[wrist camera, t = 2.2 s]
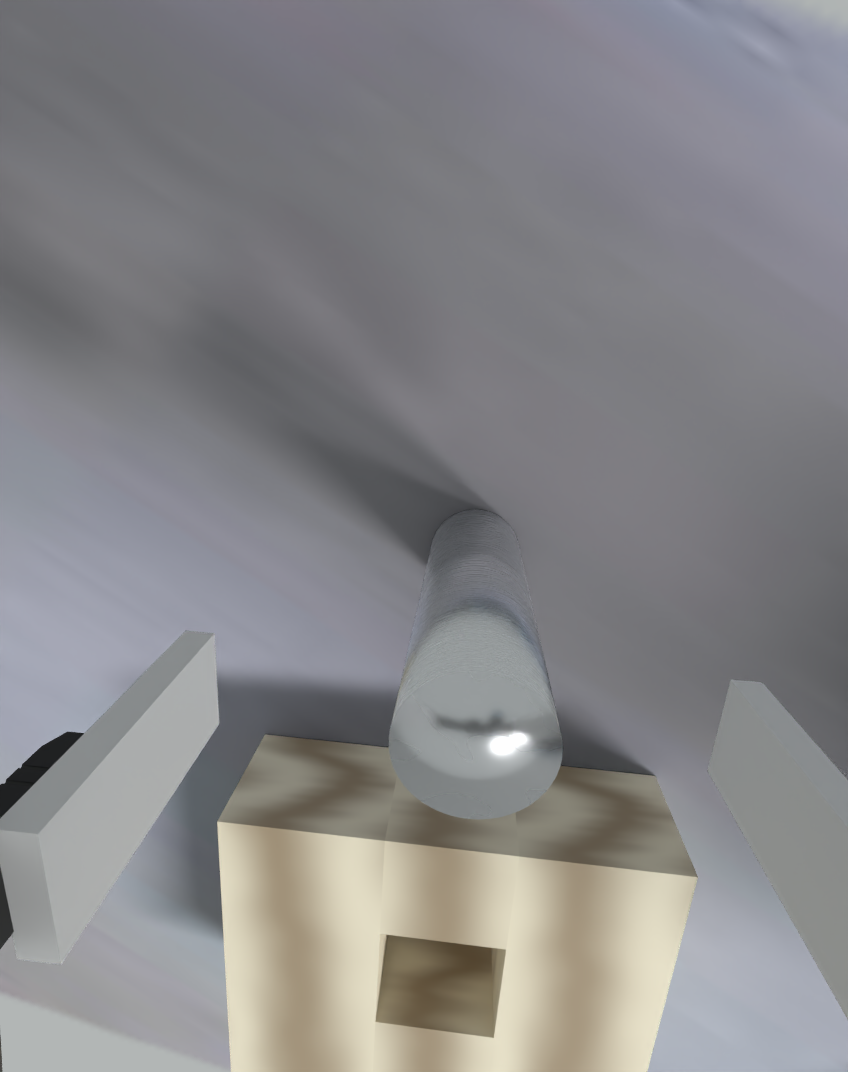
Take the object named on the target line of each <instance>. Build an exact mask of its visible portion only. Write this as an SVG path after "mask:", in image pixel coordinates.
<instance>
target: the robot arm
mask: <svg viewBox="0 0 848 1072" xmlns="http://www.w3.org/2000/svg"><path fill="white" fill-rule="evenodd" d="M218 725H219V707H218V689H217V670H216V652H215V634H214V633H204V632H193V631H185V632H184V633H183V634H182V635H181V636H180V637H179V638H178V639H177V640H176V641H175V642H174V643H173V644H172V645H171V646H170V647H169V648H168V649H167V650H166V651H165V652H164V653H163V654H162V655H161V656H160V657H159V658H158V659H157V660H156V661H155V662H154V663H153V664H152V665H151V666H150V667H149V668H148V669H147V671H146V672H145V673H144V674H143V675H142V676H141V677H140V678H139V679H138V680H137V681H136V682H135V683H134V684H133V685H132V686H131V687H130V688H129V689H128V690H127V691H126V692H125V693H124V694H123V695H122V696H121V697H120V698H119V699H118V700H117V701H116V702H115V703H114V704H113V705H112V706H111V707H110V708H109V709H108V710H107V711H106V712H105V713H104V714H103V715H102V716H101V717H100V718H99V719H98V720H97V721H96V722H95V723H94V724H93V725H92V726H91V727H90V728H89V729H88V730H87V731H86V732H85V733H76V732H66V733H64V734H63V735H61V736H59V737H57V738H56V739H54V740H52V741H50V742H48V743H47V744H45V745H43V746H41V747H40V748H39V749H38V750H37V751H36V752H35V753H34V754H33V755H32V756H31V757H30V758H29V759H28V760H27V761H25V762H24V763H23V764H22V767H21V768H18V769H17V770H16V771H15V772H14V773H13V774H12V775H11V776H10V777H8V778H7V779H6V783H5V784H1V785H0V949H1V947H2V946H3V945H4V944H5V942H6V941H7V940H8V938H9V937H10V936H11V935H12V937H13V941H14V946H15V951H16V956H17V960H25V961H34V962H42V963H51V964H59V965H62V963H63V962H64V960H65V958H66V957H67V955H68V954H69V952H70V951H71V949H72V948H73V946H74V945H75V943H76V942H77V940H78V939H79V937H80V936H81V934H82V933H83V931H84V929H85V928H86V926H87V925H88V923H89V922H90V920H91V919H92V917H93V916H94V914H95V913H96V911H97V910H98V908H99V907H100V905H101V904H102V902H103V901H104V899H105V897H106V896H107V894H108V893H109V891H110V890H111V888H112V887H113V885H114V884H115V882H116V881H117V879H118V878H119V876H120V875H121V873H122V872H123V870H124V869H125V867H126V865H127V864H128V862H129V861H130V859H131V858H132V856H133V855H134V853H135V852H136V850H137V849H138V847H139V846H140V844H141V843H142V841H143V840H144V838H145V836H146V835H147V833H148V832H149V830H150V829H151V827H152V826H153V824H154V823H155V821H156V820H157V818H158V817H159V815H160V814H161V812H162V811H163V809H164V808H165V806H166V804H167V803H168V801H169V800H170V798H171V797H172V795H173V794H174V792H175V791H176V789H177V788H178V786H179V785H180V783H181V782H182V780H183V779H184V777H185V775H186V774H187V772H188V771H189V769H190V768H191V766H192V765H193V763H194V762H195V760H196V759H197V757H198V756H199V754H200V753H201V751H202V750H203V748H204V747H205V745H206V743H207V742H208V740H209V739H210V737H211V736H212V734H213V733H214V731H215V730H216V728H217V727H218ZM708 773H709V775H710V776H711V778H712V780H713V782H714V783H715V785H716V787H717V789H718V791H719V792H720V794H721V796H722V798H723V799H724V801H725V803H726V805H727V806H728V808H729V810H730V812H731V814H732V815H733V817H734V819H735V821H736V822H737V824H738V826H739V828H740V830H741V831H742V833H743V835H744V837H745V838H746V840H747V842H748V844H749V845H750V847H751V849H752V851H753V853H754V854H755V856H756V858H757V860H758V861H759V863H760V865H761V867H762V869H763V870H764V872H765V874H766V876H767V877H768V879H769V881H770V883H771V884H772V886H773V888H774V890H775V892H776V893H777V895H778V897H779V899H780V900H781V902H782V904H783V906H784V907H785V909H786V911H787V913H788V915H789V916H790V918H791V920H792V922H793V923H794V925H795V927H796V929H797V931H798V932H799V934H800V936H801V938H802V939H803V941H804V943H805V945H806V946H807V948H808V950H809V952H810V954H811V955H812V957H813V959H814V961H815V962H816V964H817V966H818V968H819V970H820V971H821V973H822V975H823V977H824V978H825V980H826V982H827V984H828V985H829V987H830V989H831V991H832V993H833V994H834V996H835V998H836V1000H837V1001H838V1003H839V1005H840V1007H841V1008H842V1010H843V1012H844V1014H845V1016H846V1017H847V1019H848V780H847V779H846V778H845V776H844V775H843V774H842V773H841V772H840V771H839V770H838V768H837V767H836V766H835V765H834V764H833V763H832V762H831V760H830V759H829V758H828V757H827V756H826V755H825V754H824V752H823V751H822V750H821V749H820V748H819V747H818V746H817V744H816V743H815V742H814V741H813V740H812V739H811V738H810V736H809V735H808V734H807V733H806V732H805V731H804V730H803V728H802V727H801V726H800V725H799V724H798V723H797V722H796V720H795V719H794V718H793V717H792V716H791V715H790V714H789V712H788V711H787V710H786V709H785V708H784V707H783V706H782V704H781V703H780V702H779V701H778V700H777V699H776V698H775V696H774V695H773V694H772V693H771V692H770V691H769V690H768V688H767V687H766V686H765V685H764V684H763V683H762V682H753V681H742V680H730V684H729V688H728V692H727V696H726V700H725V704H724V708H723V712H722V716H721V720H720V724H719V727H718V731H717V735H716V739H715V743H714V747H713V751H712V755H711V759H710V763H709V767H708ZM0 1072H2V1056H1V1037H0Z"/></svg>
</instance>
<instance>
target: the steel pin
mask: <svg viewBox="0 0 848 1072" xmlns="http://www.w3.org/2000/svg"><path fill="white" fill-rule="evenodd" d="M389 753H390V759H391V762H392V765H393V768H394V770H395V772H396V774H397V776H398V778H399V779H400V780H401V782H402V783H403V785H404V786H405V787H406V788H407V789H408V790H409V792H410V793H411V794H413V795H414V796H415V797H416V798H417V799H418V800H420V801H421V802H423V803H424V804H426V805H427V806H429V807H431V808H433V809H435V810H437V811H439V812H442V813H444V814H447V815H451V816H455V817H459V818H465V819H478V820H479V819H492V818H499V817H503V816H507V815H510V814H513V813H515V812H518V811H520V810H522V809H524V808H526V807H528V806H529V805H531V804H532V803H534V802H535V801H536V800H538V799H539V798H540V797H541V796H542V795H543V794H544V793H545V792H546V791H547V790H548V788H549V787H550V786H551V785H552V783H553V781H554V780H555V778H556V776H557V774H558V771H559V769H560V765H561V761H562V755H563V742H562V735H561V731H560V726H559V722H558V718H557V713H556V709H555V704H554V700H553V695H552V691H551V686H550V682H549V677H548V673H547V668H546V664H545V660H544V655H543V651H542V646H541V642H540V637H539V633H538V628H537V624H536V619H535V615H534V610H533V606H532V601H531V597H530V593H529V588H528V584H527V579H526V575H525V570H524V566H523V561H522V557H521V552H520V548H519V544H518V539H517V537H516V534H515V532H514V531H513V529H512V528H511V526H510V525H509V524H508V523H507V522H506V521H505V520H504V519H502V518H501V517H499V516H498V515H496V514H494V513H491V512H488V511H484V510H466V511H462V512H459V513H457V514H455V515H453V516H451V517H449V518H448V519H447V520H445V521H444V522H443V523H442V524H441V526H440V527H439V528H438V530H437V531H436V533H435V535H434V538H433V541H432V545H431V550H430V554H429V559H428V563H427V567H426V572H425V576H424V581H423V585H422V590H421V594H420V598H419V603H418V607H417V612H416V616H415V621H414V625H413V630H412V634H411V638H410V643H409V647H408V652H407V656H406V661H405V665H404V669H403V674H402V678H401V683H400V687H399V692H398V696H397V700H396V705H395V709H394V714H393V718H392V723H391V727H390V732H389Z"/></svg>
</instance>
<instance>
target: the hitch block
mask: <svg viewBox="0 0 848 1072" xmlns="http://www.w3.org/2000/svg"><path fill="white" fill-rule="evenodd" d="M217 827H218V845H219V863H220V881H221V899H222V917H223V935H224V953H225V971H226V989H227V1007H228V1025H229V1043H230V1061H231V1072H647V1070H648V1066H649V1063H650V1059H651V1055H652V1051H653V1047H654V1043H655V1040H656V1036H657V1032H658V1028H659V1024H660V1020H661V1017H662V1013H663V1009H664V1005H665V1001H666V997H667V994H668V990H669V986H670V982H671V978H672V974H673V971H674V967H675V963H676V959H677V955H678V951H679V948H680V944H681V940H682V936H683V932H684V928H685V925H686V921H687V917H688V913H689V909H690V905H691V902H692V898H693V894H694V890H695V886H696V882H697V879H698V876H697V874H696V872H695V869H694V867H693V865H692V862H691V860H690V857H689V855H688V853H687V850H686V848H685V846H684V843H683V841H682V839H681V836H680V834H679V831H678V829H677V827H676V824H675V822H674V820H673V817H672V815H671V812H670V810H669V808H668V805H667V803H666V801H665V798H664V796H663V793H662V791H661V789H660V786H659V784H658V782H657V779H656V777H655V776H651V775H642V774H633V773H623V772H614V771H604V770H595V769H586V768H576V767H567V766H560V769H559V771H558V774H557V776H556V778H555V780H554V781H553V783H552V785H551V786H550V787H549V788H548V790H547V791H546V792H545V793H544V794H543V795H542V796H541V797H540V798H539V799H538V800H536V801H535V802H534V803H532V804H531V805H529V806H528V807H526V808H524V809H522V810H520V811H518V812H515V813H513V814H510V815H507V816H503V817H499V818H492V819H479V820H478V819H465V818H459V817H455V816H451V815H447V814H444V813H442V812H439V811H437V810H435V809H433V808H431V807H429V806H427V805H426V804H424V803H423V802H421V801H420V800H418V799H417V798H416V797H415V796H414V795H413V794H411V793H410V792H409V790H408V789H407V788H406V787H405V786H404V785H403V783H402V782H401V780H400V779H399V778H398V776H397V774H396V772H395V770H394V768H393V765H392V762H391V759H390V753H389V748H388V747H379V746H369V745H360V744H350V743H341V742H332V741H322V740H313V739H303V738H294V737H285V736H275V735H266V734H265V735H264V737H263V739H262V741H261V743H260V744H259V746H258V748H257V750H256V752H255V753H254V755H253V757H252V759H251V761H250V763H249V764H248V766H247V768H246V770H245V772H244V774H243V775H242V777H241V779H240V781H239V783H238V784H237V786H236V788H235V790H234V792H233V794H232V795H231V797H230V799H229V801H228V803H227V805H226V806H225V808H224V810H223V812H222V814H221V815H220V817H219V819H218V821H217Z"/></svg>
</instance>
